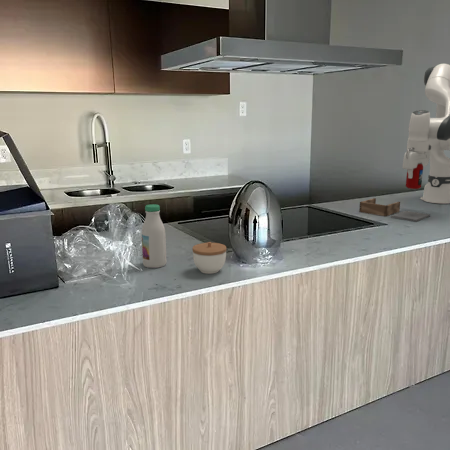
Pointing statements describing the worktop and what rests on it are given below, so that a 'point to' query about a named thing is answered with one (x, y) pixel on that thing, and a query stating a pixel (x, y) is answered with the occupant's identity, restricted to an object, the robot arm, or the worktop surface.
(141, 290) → the worktop surface
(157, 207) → the milk bottle
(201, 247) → the lidded jar
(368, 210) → the wooden tray
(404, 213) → the rubber mat
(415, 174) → the beverage can
